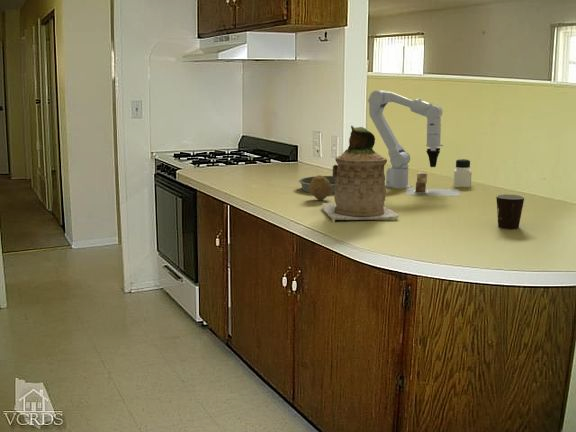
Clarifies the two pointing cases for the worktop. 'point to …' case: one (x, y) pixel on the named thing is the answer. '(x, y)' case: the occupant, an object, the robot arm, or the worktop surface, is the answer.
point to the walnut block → (421, 187)
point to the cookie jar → (359, 181)
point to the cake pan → (306, 181)
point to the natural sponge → (320, 187)
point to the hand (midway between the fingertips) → (433, 165)
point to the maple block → (421, 177)
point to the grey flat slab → (434, 192)
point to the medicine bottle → (462, 173)
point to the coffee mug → (509, 210)
